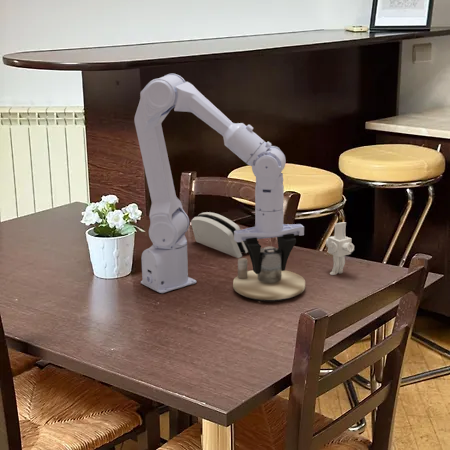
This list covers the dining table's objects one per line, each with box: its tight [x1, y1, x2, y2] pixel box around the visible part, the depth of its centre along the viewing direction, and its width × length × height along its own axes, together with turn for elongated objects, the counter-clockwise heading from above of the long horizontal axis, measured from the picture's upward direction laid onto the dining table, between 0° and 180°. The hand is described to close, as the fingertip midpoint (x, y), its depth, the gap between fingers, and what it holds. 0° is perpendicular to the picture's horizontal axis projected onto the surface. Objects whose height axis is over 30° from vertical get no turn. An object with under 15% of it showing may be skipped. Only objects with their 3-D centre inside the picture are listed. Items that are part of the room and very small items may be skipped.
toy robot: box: [325, 221, 355, 276], centre depth 169 cm, size 4×8×12 cm, turn 34°
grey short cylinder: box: [257, 246, 282, 283], centre depth 160 cm, size 5×5×7 cm
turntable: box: [232, 257, 306, 300], centre depth 161 cm, size 15×15×5 cm
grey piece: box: [190, 211, 248, 259], centre depth 187 cm, size 17×5×10 cm, turn 39°
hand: (269, 270), depth 161 cm, fingers closed on grey short cylinder, 5 cm apart
